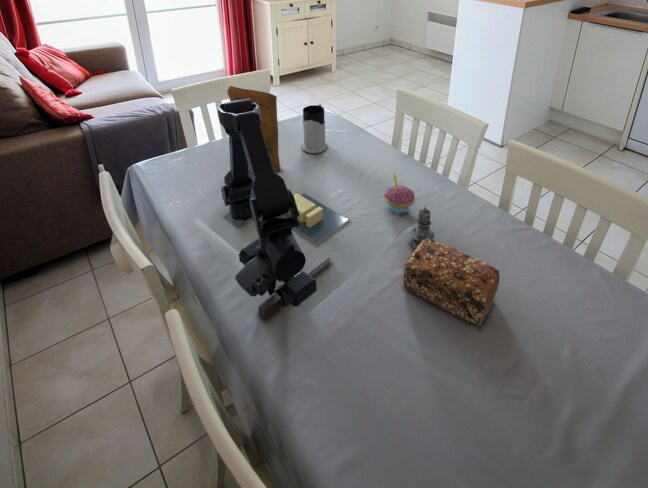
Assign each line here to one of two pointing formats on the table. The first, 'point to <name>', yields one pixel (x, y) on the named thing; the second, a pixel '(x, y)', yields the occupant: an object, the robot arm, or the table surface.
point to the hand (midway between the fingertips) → (278, 299)
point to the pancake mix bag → (263, 118)
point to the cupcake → (399, 197)
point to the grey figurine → (422, 228)
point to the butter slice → (314, 217)
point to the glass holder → (314, 129)
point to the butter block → (303, 207)
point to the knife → (275, 300)
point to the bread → (451, 280)
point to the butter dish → (321, 222)
